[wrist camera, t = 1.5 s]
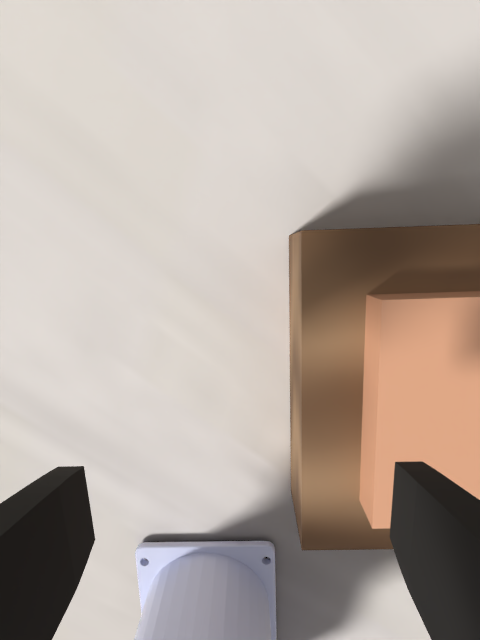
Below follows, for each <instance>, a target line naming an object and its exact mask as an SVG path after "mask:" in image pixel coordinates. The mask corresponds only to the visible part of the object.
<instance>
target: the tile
mask: <svg viewBox="0 0 480 640" xmlns="http://www.w3.org/2000/svg"><path fill="white" fill-rule="evenodd" d="M417 461H422V462H424V463H426V464H427V465H429V466H431V467H432V468H434V469H435V470H437V471H438V472H440V473H441V474H443V475H444V476H446V477H447V478H449V479H450V480H451V481H453V482H454V483H456V484H457V485H459V486H460V487H462V488H463V489H465V490H466V491H467V492H469V493H470V494H472V495H473V496H475V497H476V498H477V499H479V500H480V291H467V292H435V293H403V294H371V295H366V318H365V348H364V378H363V408H362V438H361V468H360V498H359V500H360V503H361V505H362V507H363V509H364V511H365V514H366V516H367V518H368V520H369V523H370V525H371V527H372V529H385V528H390V524H391V510H392V497H393V483H394V469H395V462H417Z"/></svg>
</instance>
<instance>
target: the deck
mask: <svg viewBox="0 0 480 640" xmlns="http://www.w3.org/2000/svg"><path fill="white" fill-rule="evenodd" d="M467 291H480V224H469V225H441V226H414V227H386V228H359V229H332V230H304V231H299V232H297V233H295V234H292V235H290V236H289V295H290V423H291V493H292V499H293V504H294V510H295V515H296V521H297V526H298V532H299V537H300V543H301V548H302V550H359V549H393V546H392V543H391V540H390V528H385V529H372V527H371V525H370V523H369V520H368V518H367V516H366V514H365V511H364V509H363V507H362V505H361V503H360V500H359V498H360V468H361V438H362V408H363V378H364V348H365V318H366V295H371V294H403V293H435V292H467Z"/></svg>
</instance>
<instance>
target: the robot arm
mask: <svg viewBox="0 0 480 640" xmlns="http://www.w3.org/2000/svg"><path fill="white" fill-rule="evenodd" d="M390 540H391V543H392V546H393V549H394V552H395V555H396V558H397V560H398V563H399V566H400V569H401V572H402V574H403V577H404V580H405V583H406V585H407V588H408V590H409V592H410V595H411V597H412V599H413V601H414V603H415V605H416V608H417V610H418V612H419V614H420V616H421V618H422V620H423V622H424V625H425V627H426V629H427V631H428V633H429V635H430V637H431V639H432V640H480V500H479V499H477V498H476V497H475V496H473V495H472V494H470V493H469V492H467V491H466V490H465V489H463V488H462V487H460V486H459V485H457V484H456V483H454V482H453V481H451V480H450V479H449V478H447V477H446V476H444V475H443V474H441V473H440V472H438V471H437V470H435V469H434V468H432V467H431V466H429V465H427V464H426V463H424V462H422V461H417V462H395V469H394V483H393V497H392V510H391V524H390ZM94 541H95V536H94V529H93V523H92V516H91V510H90V504H89V497H88V491H87V484H86V478H85V471H84V466H77V467H57V468H55V469H54V470H52V471H50V472H48V473H47V474H45V475H43V476H42V477H40V478H39V479H37V480H36V481H34V482H32V483H31V484H29V485H28V486H26V487H25V488H23V489H22V490H20V491H19V492H17V493H16V494H14V495H13V496H11V497H10V498H8V499H7V500H5V501H4V502H2V503H1V504H0V640H52V638H53V636H54V634H55V632H56V630H57V628H58V626H59V624H60V622H61V620H62V618H63V616H64V614H65V612H66V610H67V608H68V606H69V604H70V602H71V600H72V598H73V595H74V593H75V591H76V589H77V587H78V584H79V582H80V579H81V576H82V574H83V571H84V569H85V566H86V563H87V561H88V558H89V555H90V552H91V549H92V547H93V544H94ZM135 556H136V566H137V575H138V585H139V594H140V604H141V613H142V614H141V618H140V621H139V625H138V628H137V631H136V635H135V638H134V640H277V637H276V582H275V548H274V545H273V544H272V543H271V542H269V541H209V542H144V543H141V544H139V545H138V547H137V549H136V553H135ZM264 557H269V558H268V559H264ZM143 558H145V559H147V560H144V559H143Z"/></svg>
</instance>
